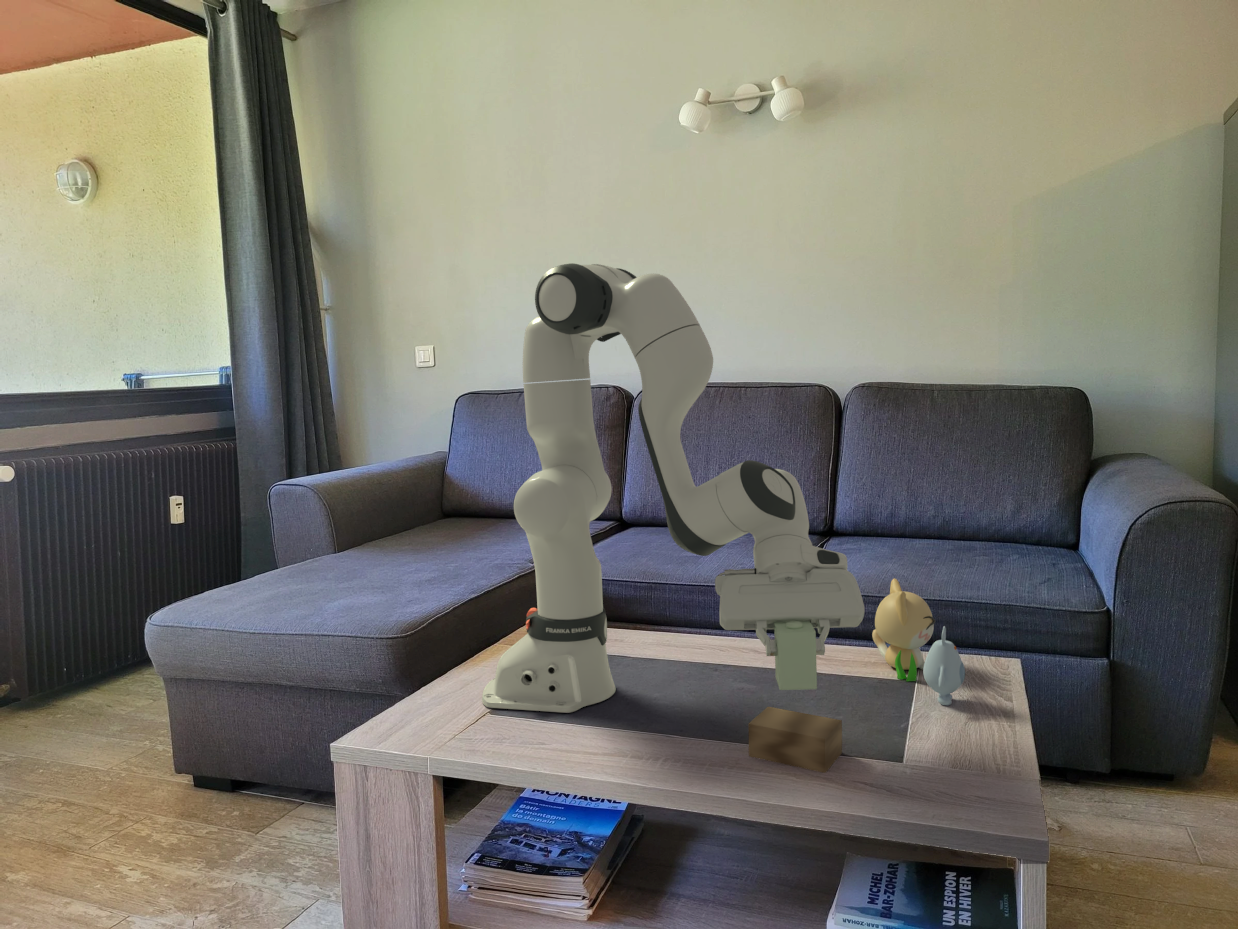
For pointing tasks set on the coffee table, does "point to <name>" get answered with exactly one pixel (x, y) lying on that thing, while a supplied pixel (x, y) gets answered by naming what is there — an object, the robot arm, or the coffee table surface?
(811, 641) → the green brick
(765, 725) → the base brick
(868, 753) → the coffee table surface
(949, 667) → the toy figure
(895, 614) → the kitten
